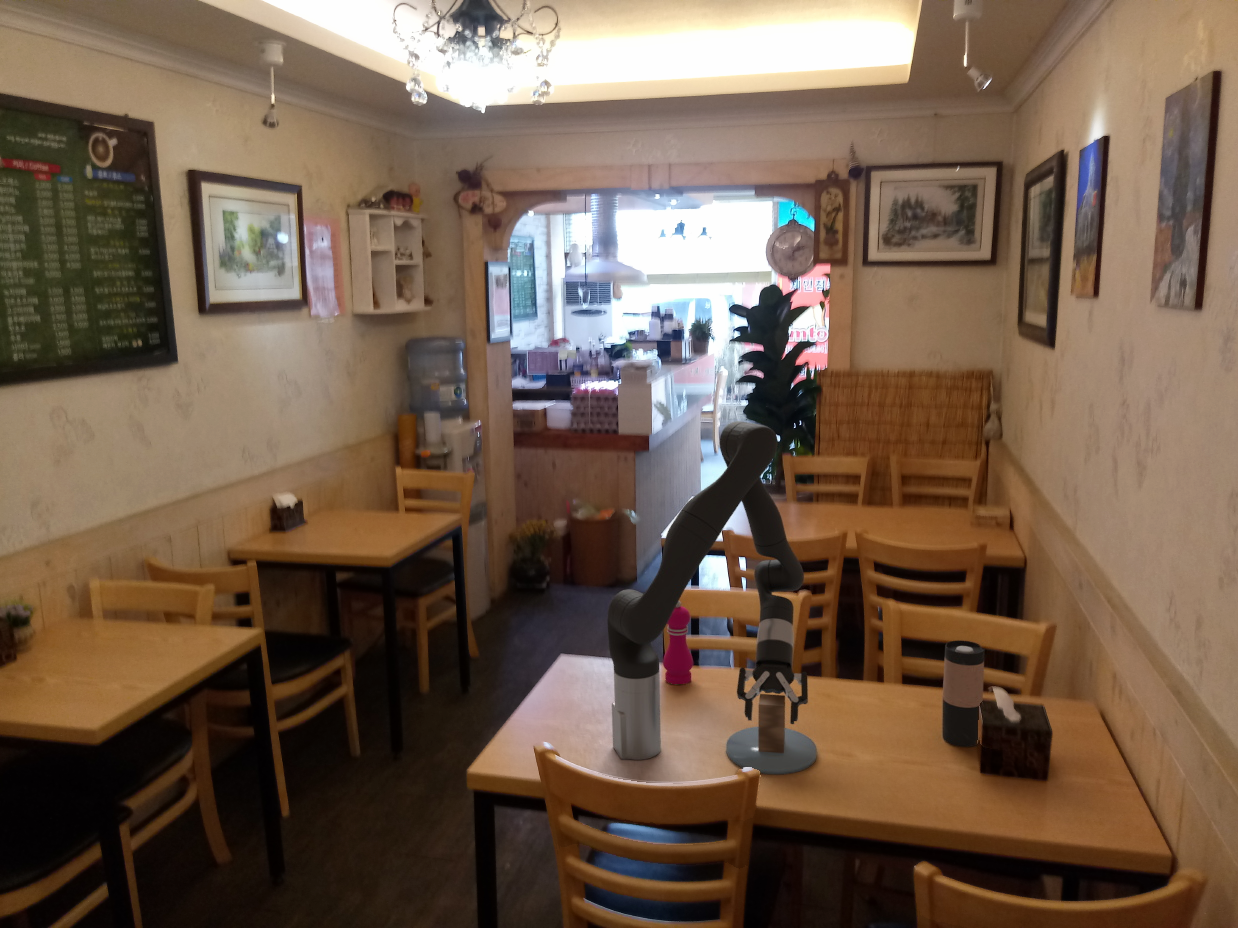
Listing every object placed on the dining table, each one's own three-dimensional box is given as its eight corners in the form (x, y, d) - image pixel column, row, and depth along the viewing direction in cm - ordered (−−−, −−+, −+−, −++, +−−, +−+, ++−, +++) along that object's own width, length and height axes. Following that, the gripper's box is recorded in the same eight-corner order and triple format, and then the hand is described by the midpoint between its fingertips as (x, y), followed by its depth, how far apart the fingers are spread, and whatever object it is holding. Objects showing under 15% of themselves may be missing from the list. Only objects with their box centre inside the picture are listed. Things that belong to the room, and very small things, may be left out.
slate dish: (749, 780, 177) (749, 775, 177) (712, 739, 194) (712, 733, 194) (833, 765, 182) (833, 759, 182) (790, 725, 199) (790, 720, 199)
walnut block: (758, 750, 186) (758, 704, 184) (760, 739, 191) (760, 693, 189) (783, 752, 185) (784, 705, 183) (784, 741, 190) (785, 695, 188)
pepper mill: (691, 686, 220) (690, 606, 217) (661, 684, 222) (659, 604, 218) (695, 674, 227) (694, 596, 224) (665, 672, 229) (664, 595, 225)
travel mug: (934, 739, 191) (938, 647, 188) (950, 726, 197) (954, 637, 193) (971, 751, 186) (975, 656, 183) (986, 737, 192) (991, 645, 188)
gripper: (739, 635, 193) (733, 711, 184) (809, 639, 190) (807, 717, 181) (741, 650, 199) (736, 724, 190) (809, 654, 196) (807, 730, 187)
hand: (770, 720), depth 186 cm, fingers open, 8 cm apart
